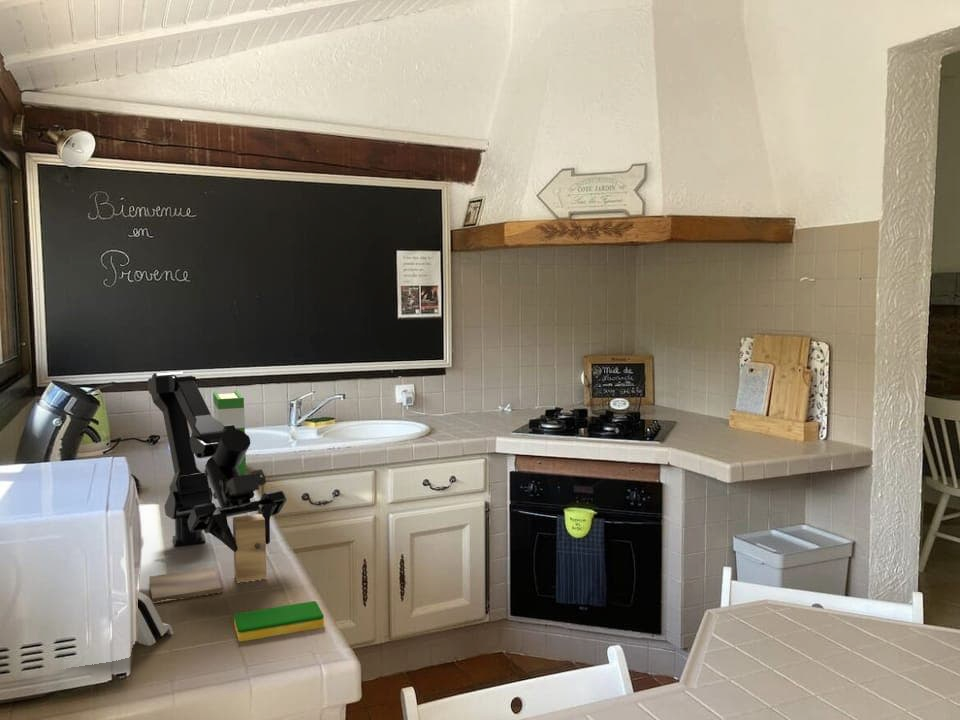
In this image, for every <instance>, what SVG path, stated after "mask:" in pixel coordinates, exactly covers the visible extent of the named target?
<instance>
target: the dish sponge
mask: <svg viewBox="0 0 960 720" xmlns="http://www.w3.org/2000/svg"><path fill="white" fill-rule="evenodd" d="M324 618H325V616H324V614H323V612H322V610H321V608H320V606H319V604H318V603H317V601H315V600H313V601H306V602H299V603H292V604H287V605H280V606H275V607H269V608H261V609H256V610H250V611H249V610H248V611H244V612H235V613H234V614H233V623H234V624H233V625H234V629H235V633H236V636H237V641H238V642H246V641H251V640H258V639H263V638H269V637H274V636H280V635H285V634H286V635H287V634H292V633H297V632H305V631H310V630H315V629H321V628H322V629H323V628H324V627H325V620H324Z"/></svg>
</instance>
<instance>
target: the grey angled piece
mask: <svg viewBox="0 0 960 720" xmlns="http://www.w3.org/2000/svg"><path fill="white" fill-rule="evenodd" d="M137 591H138V643H137V644H141V645H144V646H152V645H154V644H155V643H156V642H157V641H156V639H157V637H163V636H164V635H165V634H167V635H171V636H172V635H174V634H175V633H174V631H173V628H172V626H171V625H170V624H168V623H164V622H163V621H162V619H161V616H160V615H159V613H158V611H157V609H156V607H155V604H153V603H152V598H150V597H149V596H147V595H146V594H145V593H143V592H141V591H139V590H137Z"/></svg>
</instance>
